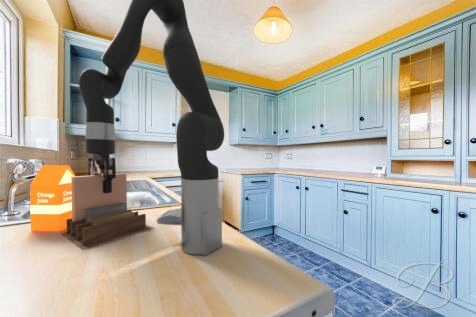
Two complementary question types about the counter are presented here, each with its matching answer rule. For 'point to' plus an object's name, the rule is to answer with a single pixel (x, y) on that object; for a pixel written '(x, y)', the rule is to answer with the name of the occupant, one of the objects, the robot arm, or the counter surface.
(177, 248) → the counter surface
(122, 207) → the bar
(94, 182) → the tall sheet
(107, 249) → the counter surface
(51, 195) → the orange juice
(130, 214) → the offcut front
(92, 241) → the rack
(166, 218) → the stone block
